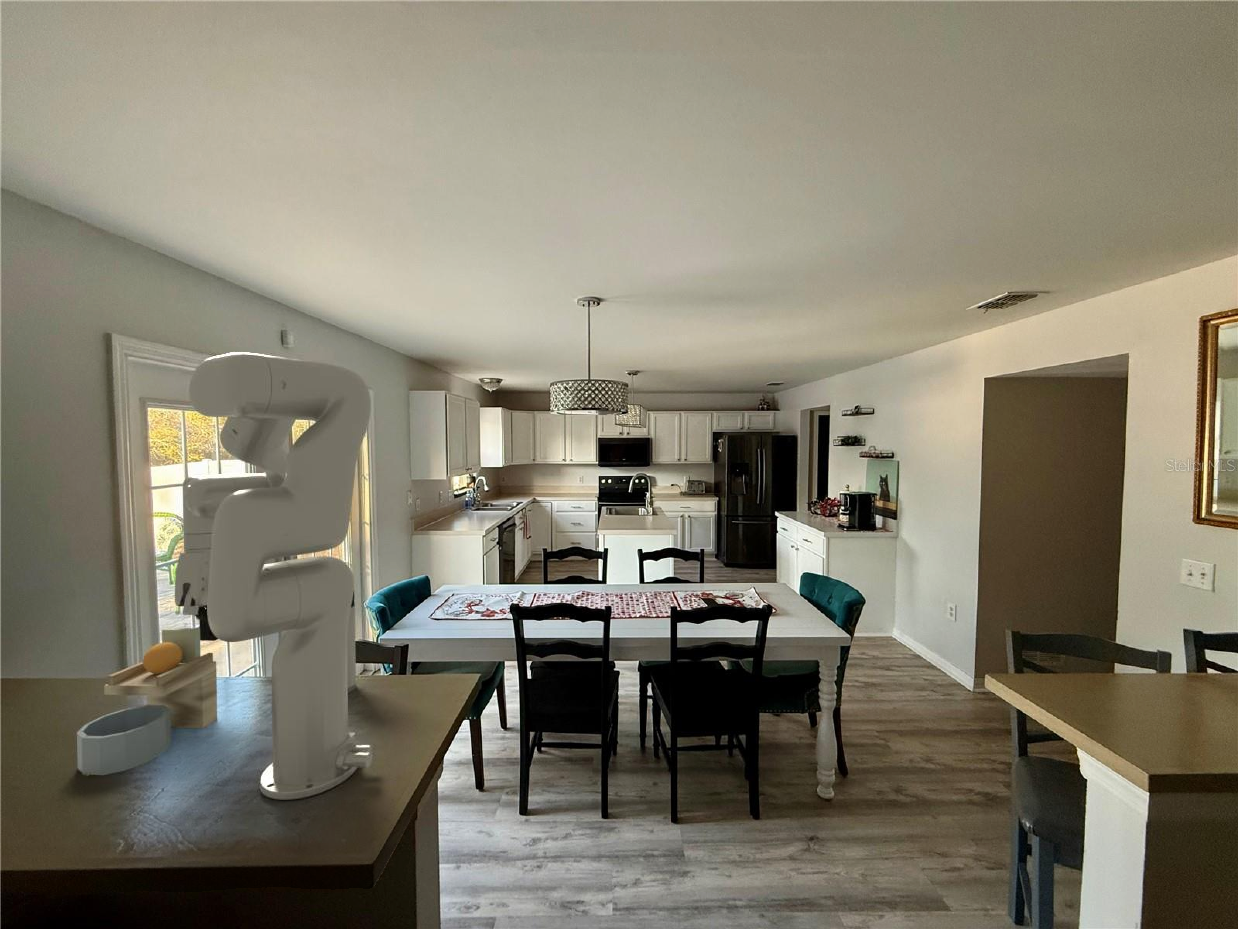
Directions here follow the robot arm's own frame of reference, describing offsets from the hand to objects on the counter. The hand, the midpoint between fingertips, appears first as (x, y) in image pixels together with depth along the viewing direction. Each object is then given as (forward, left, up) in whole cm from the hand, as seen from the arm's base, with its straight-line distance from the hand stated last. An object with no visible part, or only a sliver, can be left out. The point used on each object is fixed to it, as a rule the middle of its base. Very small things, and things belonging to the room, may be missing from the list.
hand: (211, 639), depth 97 cm
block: (0, +6, -2) cm, 7 cm away
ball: (0, +10, 0) cm, 10 cm away
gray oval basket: (0, +16, -12) cm, 21 cm away
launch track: (0, +10, -12) cm, 16 cm away
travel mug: (-20, -7, -13) cm, 25 cm away
